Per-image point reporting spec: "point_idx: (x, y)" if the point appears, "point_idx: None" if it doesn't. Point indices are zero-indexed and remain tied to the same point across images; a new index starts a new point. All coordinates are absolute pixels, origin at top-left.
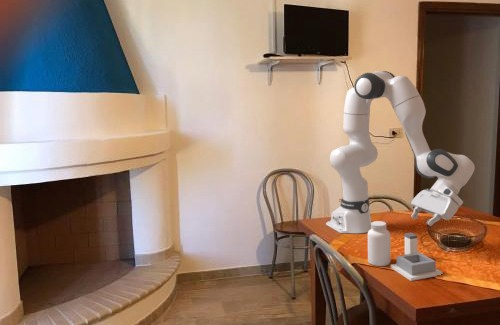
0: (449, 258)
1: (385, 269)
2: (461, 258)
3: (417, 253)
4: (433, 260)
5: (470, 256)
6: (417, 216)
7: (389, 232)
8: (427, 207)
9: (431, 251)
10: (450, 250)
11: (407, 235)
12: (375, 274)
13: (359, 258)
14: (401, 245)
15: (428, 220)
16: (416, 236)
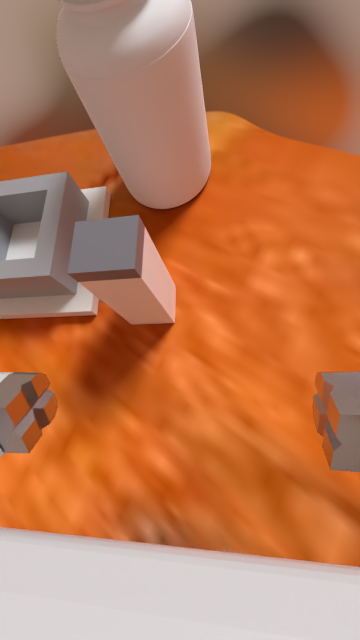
0: (65, 465)
1: (106, 174)
2: (35, 523)
3: (43, 260)
4: None
5: None
6: (327, 449)
7: (78, 60)
8: (5, 598)
9: (179, 449)
10: None
11: (104, 219)
12: (90, 136)
13: (237, 126)
14: (330, 353)
15: (6, 392)
16: (72, 270)
